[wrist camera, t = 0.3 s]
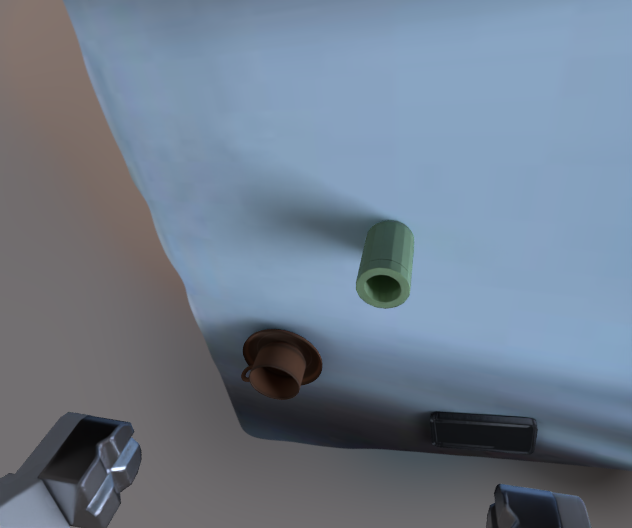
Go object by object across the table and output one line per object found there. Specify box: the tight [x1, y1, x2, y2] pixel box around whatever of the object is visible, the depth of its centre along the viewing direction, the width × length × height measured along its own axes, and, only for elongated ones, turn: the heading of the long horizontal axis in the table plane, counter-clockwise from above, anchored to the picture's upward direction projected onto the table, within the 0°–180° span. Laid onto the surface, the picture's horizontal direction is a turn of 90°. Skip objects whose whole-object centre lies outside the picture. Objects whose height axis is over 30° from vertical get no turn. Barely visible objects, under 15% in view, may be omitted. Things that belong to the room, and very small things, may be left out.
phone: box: [430, 412, 538, 454], centre depth 71 cm, size 8×1×15 cm
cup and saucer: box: [241, 329, 322, 400], centre depth 67 cm, size 12×12×6 cm
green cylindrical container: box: [356, 220, 414, 309], centre depth 50 cm, size 5×5×8 cm
